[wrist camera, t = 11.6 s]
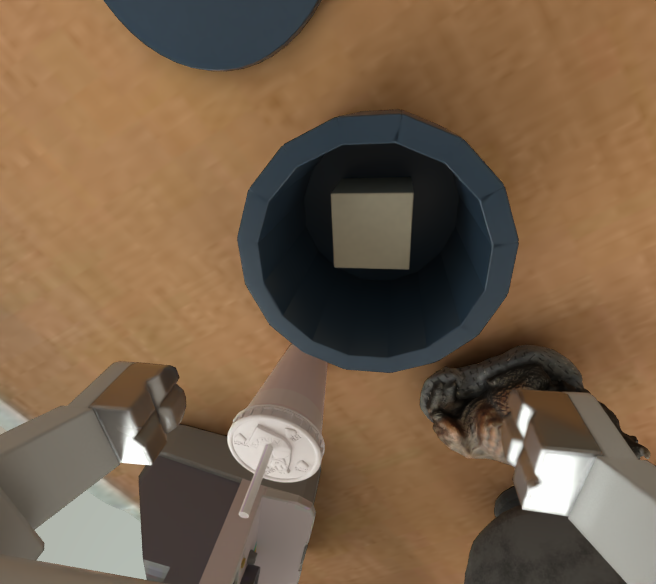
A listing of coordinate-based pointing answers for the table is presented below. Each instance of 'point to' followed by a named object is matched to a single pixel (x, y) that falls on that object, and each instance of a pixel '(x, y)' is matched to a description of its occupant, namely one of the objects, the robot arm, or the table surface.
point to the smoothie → (282, 424)
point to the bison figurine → (497, 398)
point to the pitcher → (534, 550)
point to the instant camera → (220, 517)
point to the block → (372, 222)
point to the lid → (215, 28)
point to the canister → (378, 284)
